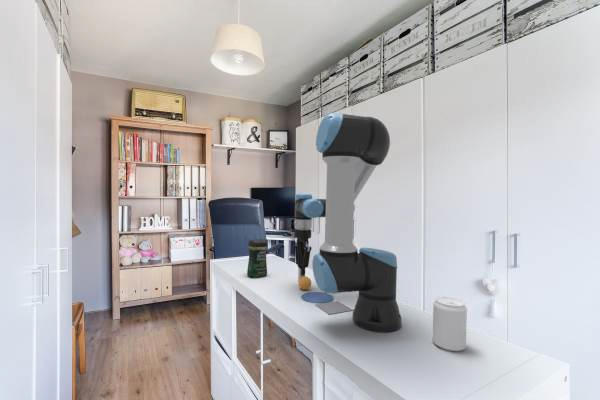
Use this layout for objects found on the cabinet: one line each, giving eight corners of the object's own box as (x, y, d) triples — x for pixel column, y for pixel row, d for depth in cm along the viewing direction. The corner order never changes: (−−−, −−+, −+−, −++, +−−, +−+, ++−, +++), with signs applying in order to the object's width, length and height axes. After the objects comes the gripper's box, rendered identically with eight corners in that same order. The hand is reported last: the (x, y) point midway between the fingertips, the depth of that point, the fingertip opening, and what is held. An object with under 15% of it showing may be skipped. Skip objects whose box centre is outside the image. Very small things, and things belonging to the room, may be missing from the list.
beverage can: (458, 339, 84) (458, 297, 84) (471, 354, 76) (472, 307, 76) (428, 337, 85) (429, 295, 85) (438, 351, 77) (439, 305, 77)
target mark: (340, 300, 115) (340, 300, 115) (310, 305, 109) (310, 304, 109) (323, 290, 126) (323, 290, 126) (295, 294, 121) (295, 294, 121)
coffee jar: (252, 279, 142) (253, 240, 142) (245, 275, 149) (245, 238, 149) (269, 276, 148) (270, 239, 148) (262, 273, 154) (262, 237, 154)
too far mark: (353, 310, 104) (353, 309, 104) (329, 314, 100) (329, 314, 100) (337, 301, 113) (337, 300, 113) (314, 305, 109) (314, 304, 109)
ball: (309, 290, 129) (314, 286, 125) (298, 292, 127) (303, 287, 123) (306, 278, 132) (311, 274, 128) (295, 279, 130) (300, 275, 126)
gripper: (289, 227, 135) (287, 279, 135) (301, 230, 123) (300, 287, 123) (303, 227, 138) (302, 277, 138) (317, 230, 126) (316, 285, 127)
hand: (301, 282), depth 131 cm, fingers closed
